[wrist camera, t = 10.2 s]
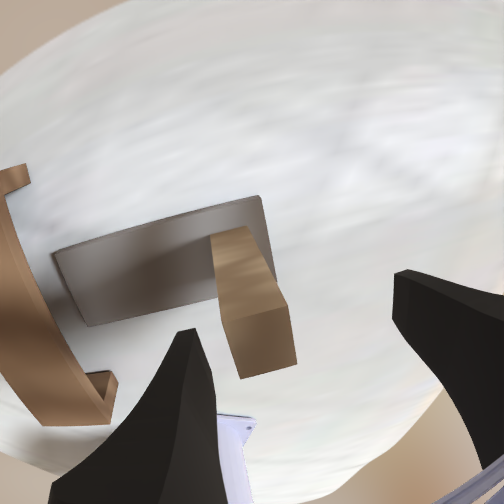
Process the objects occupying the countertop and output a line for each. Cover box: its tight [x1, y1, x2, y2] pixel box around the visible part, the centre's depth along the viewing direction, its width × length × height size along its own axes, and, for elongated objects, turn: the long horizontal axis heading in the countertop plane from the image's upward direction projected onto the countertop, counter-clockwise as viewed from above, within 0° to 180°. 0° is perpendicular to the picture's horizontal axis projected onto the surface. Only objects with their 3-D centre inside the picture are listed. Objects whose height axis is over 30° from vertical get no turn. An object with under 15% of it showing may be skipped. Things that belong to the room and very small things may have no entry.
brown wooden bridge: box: [0, 163, 118, 426], centre depth 15 cm, size 16×6×4 cm, turn 11°
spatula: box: [55, 195, 297, 379], centre depth 13 cm, size 12×5×9 cm, turn 101°
